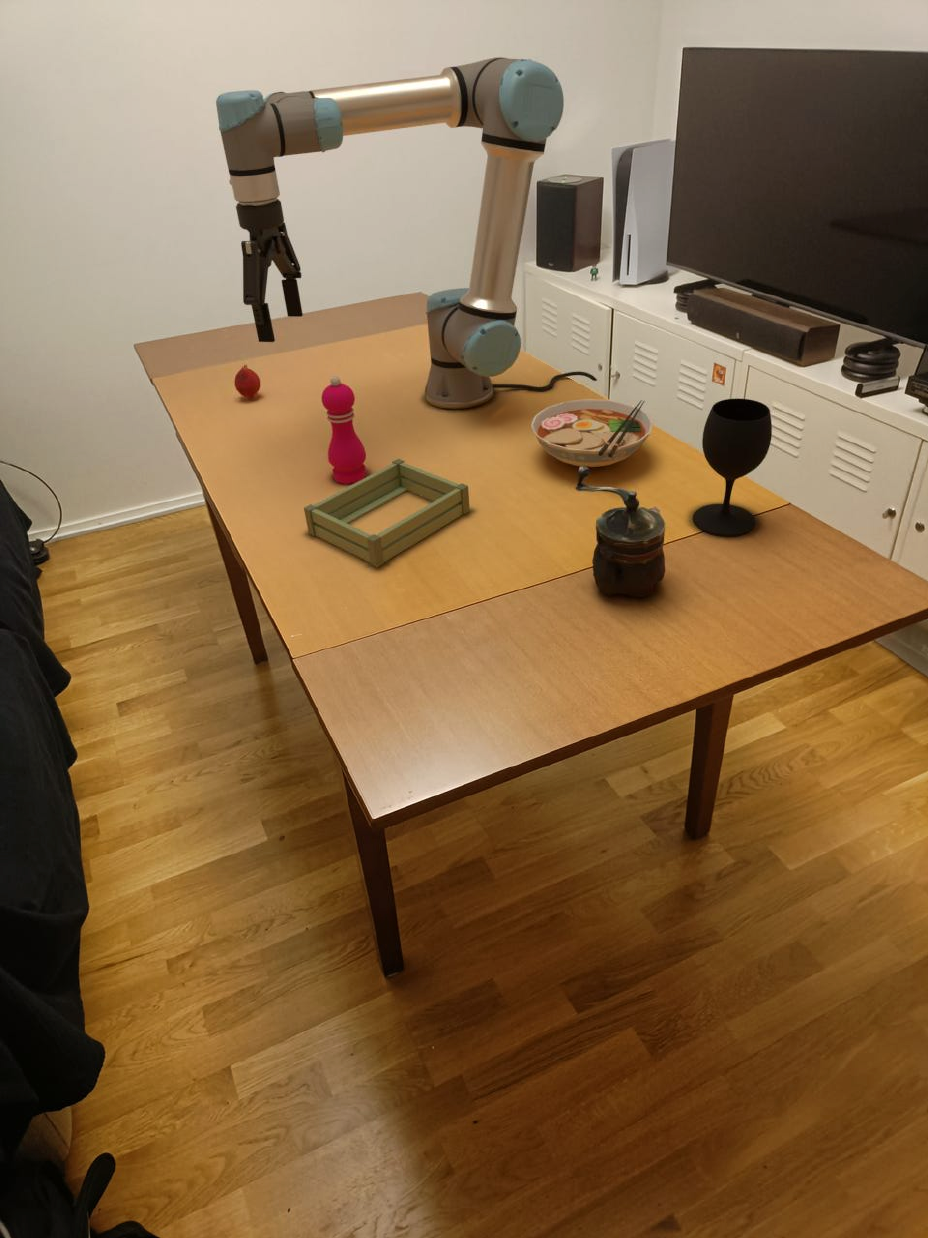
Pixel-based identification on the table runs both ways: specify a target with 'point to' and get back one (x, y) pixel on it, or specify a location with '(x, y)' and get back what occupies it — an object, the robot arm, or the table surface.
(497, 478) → the table surface
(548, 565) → the table surface
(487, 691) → the table surface
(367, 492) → the crate
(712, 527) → the wine glass
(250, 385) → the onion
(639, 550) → the coffee grinder
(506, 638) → the table surface
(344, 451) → the pepper mill
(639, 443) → the ramen bowl
